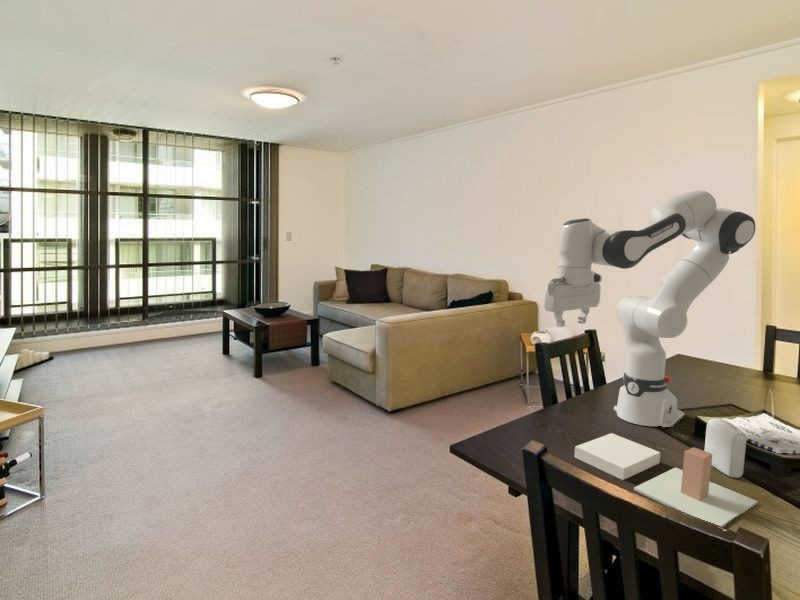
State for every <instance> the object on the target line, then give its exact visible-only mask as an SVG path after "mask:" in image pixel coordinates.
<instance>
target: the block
mask: <svg viewBox="0 0 800 600" xmlns="http://www.w3.org/2000/svg"><path fill="white" fill-rule="evenodd" d="M683 456H684V457H683V464H682V470H683V473H682V484H681V493H683V494H685V495H687V496H689V497H692V498H694V499H696V500H698V501H700V500H702V499H703V498H705V497H707V496H708V493H709V483H710V482H711V472H712V471H711V470H712V465H711V464H712V454H711V453H708V452H706V451H704V450H703V449H700V448H697V447H695V446H694V447H690V448H689V449H686V450H684V453H683Z"/></svg>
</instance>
